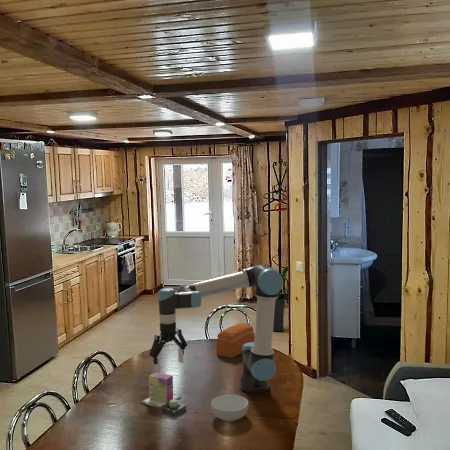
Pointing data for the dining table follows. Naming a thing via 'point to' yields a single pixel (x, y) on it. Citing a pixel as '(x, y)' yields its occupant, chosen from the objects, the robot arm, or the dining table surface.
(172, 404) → the button
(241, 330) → the bread
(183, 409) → the button housing
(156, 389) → the box
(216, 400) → the cereal bowl
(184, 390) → the dining table surface
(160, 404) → the clipboard
